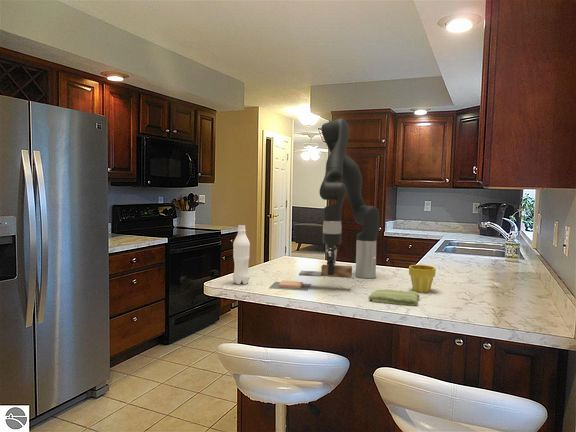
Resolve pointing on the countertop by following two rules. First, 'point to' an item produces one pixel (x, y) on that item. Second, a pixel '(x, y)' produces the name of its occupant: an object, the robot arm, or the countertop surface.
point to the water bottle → (241, 256)
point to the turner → (338, 272)
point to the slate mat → (303, 288)
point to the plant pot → (422, 277)
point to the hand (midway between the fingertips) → (331, 273)
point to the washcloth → (395, 297)
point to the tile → (291, 284)
